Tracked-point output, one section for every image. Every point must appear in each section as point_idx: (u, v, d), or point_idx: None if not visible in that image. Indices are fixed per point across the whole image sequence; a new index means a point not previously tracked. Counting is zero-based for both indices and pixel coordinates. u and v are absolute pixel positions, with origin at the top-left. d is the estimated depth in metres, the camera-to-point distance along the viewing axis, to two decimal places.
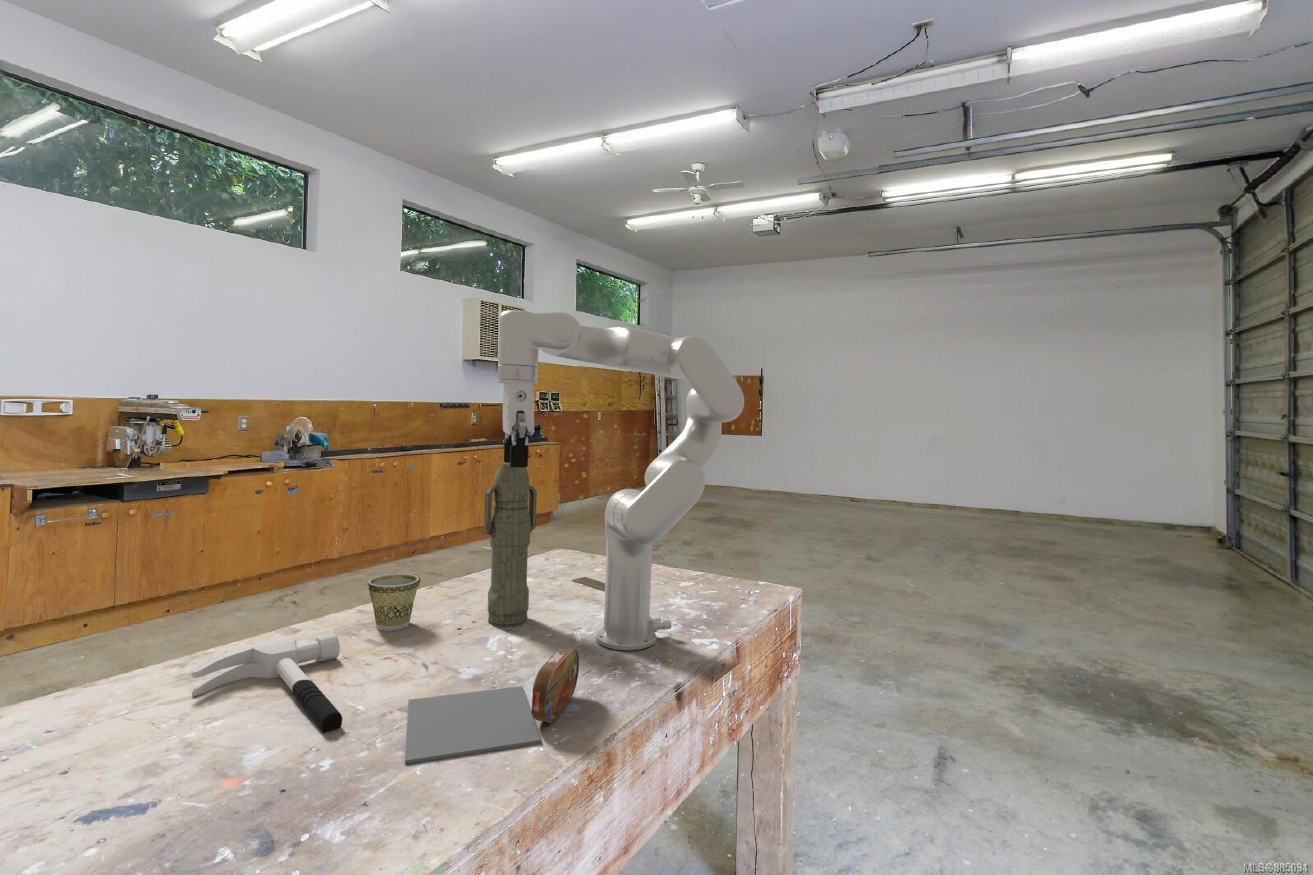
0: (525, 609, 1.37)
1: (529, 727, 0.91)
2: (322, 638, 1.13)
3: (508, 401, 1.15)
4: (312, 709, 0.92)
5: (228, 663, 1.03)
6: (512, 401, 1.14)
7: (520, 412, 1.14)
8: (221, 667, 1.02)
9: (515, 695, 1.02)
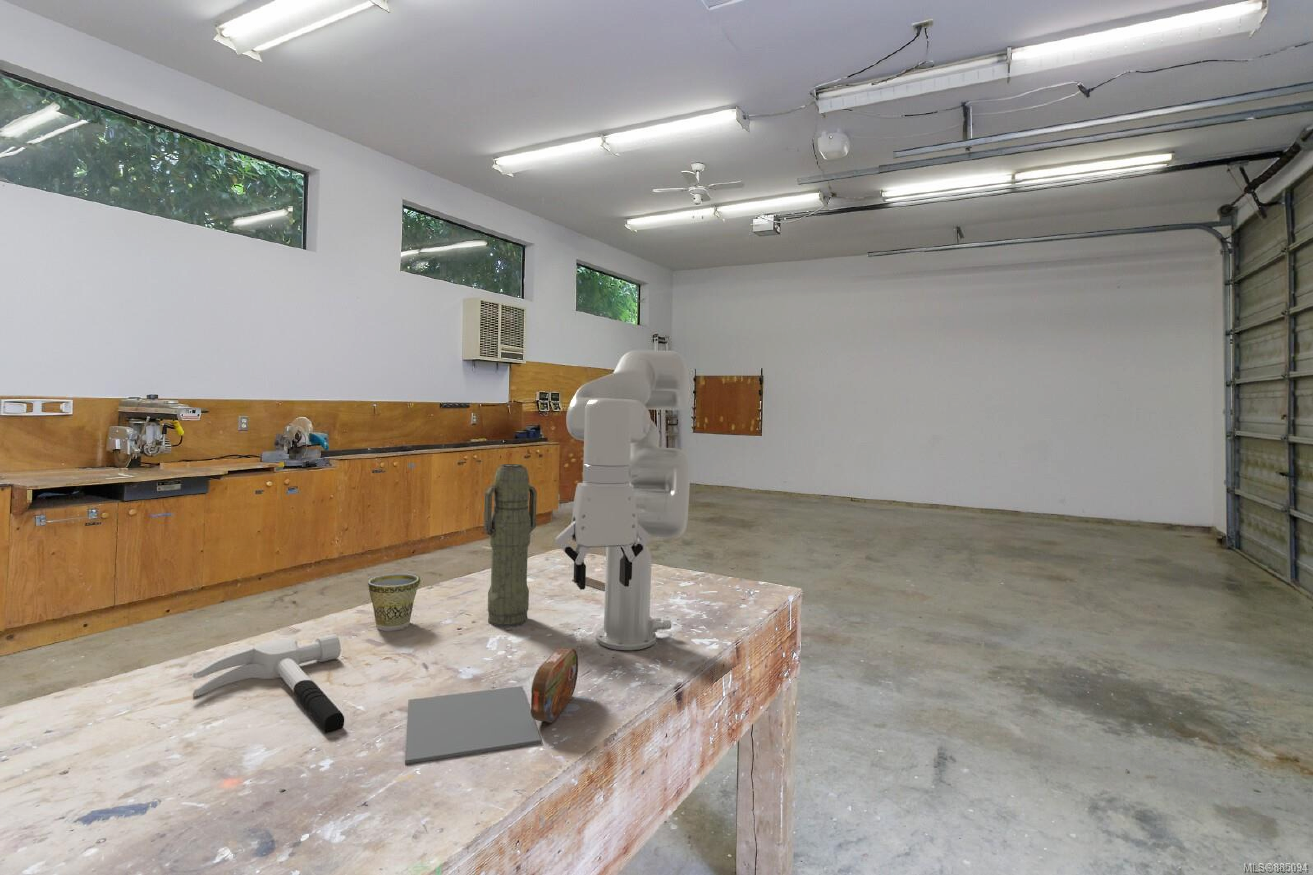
0: (525, 609, 1.37)
1: (529, 727, 0.91)
2: (323, 638, 1.13)
3: (633, 508, 0.99)
4: (313, 709, 0.92)
5: (229, 663, 1.03)
6: (636, 507, 1.00)
7: None
8: (222, 668, 1.02)
9: (515, 695, 1.02)
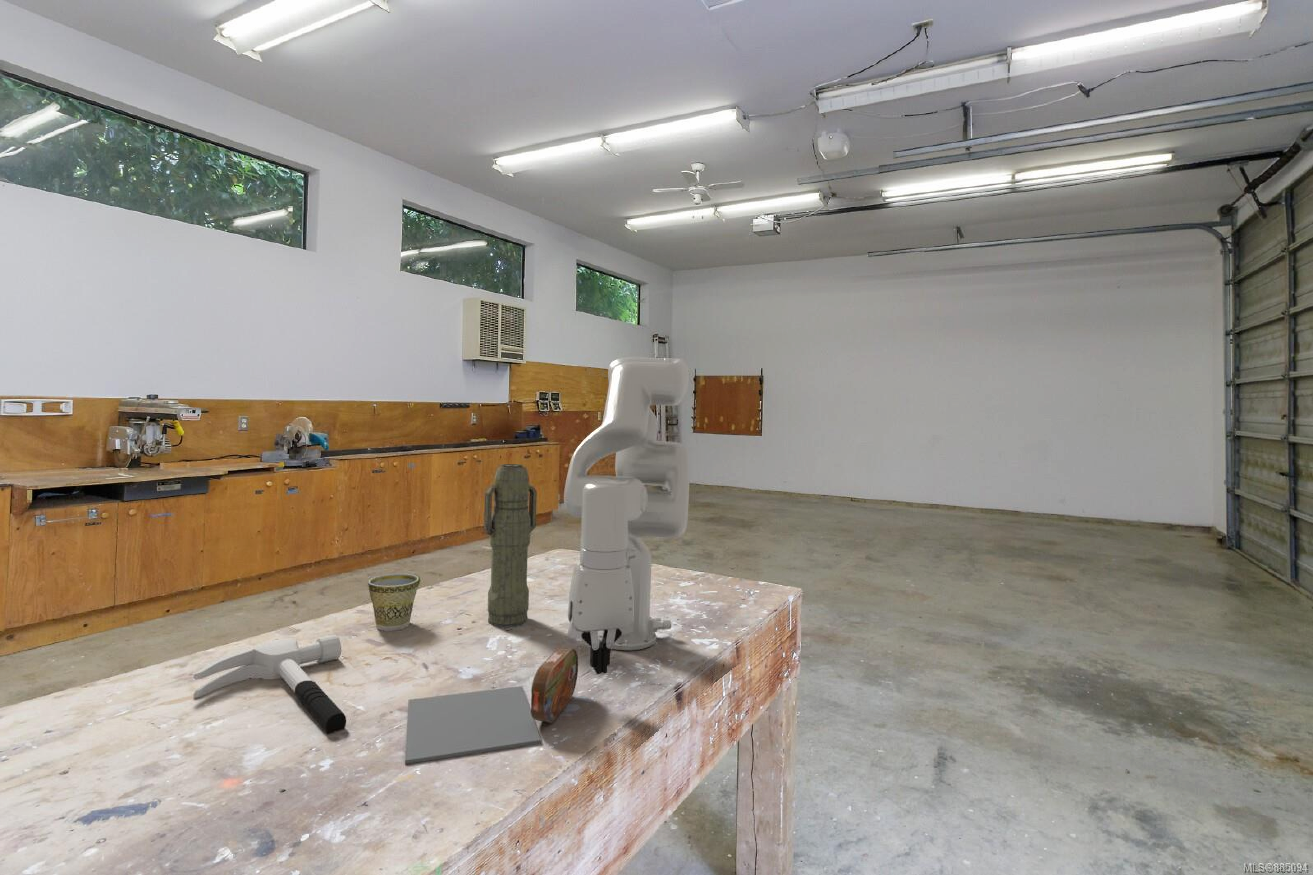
0: (525, 609, 1.37)
1: (529, 727, 0.91)
2: (323, 639, 1.13)
3: (630, 591, 0.99)
4: (315, 710, 0.92)
5: (230, 664, 1.03)
6: (633, 589, 1.00)
7: None
8: (222, 668, 1.02)
9: (515, 695, 1.02)
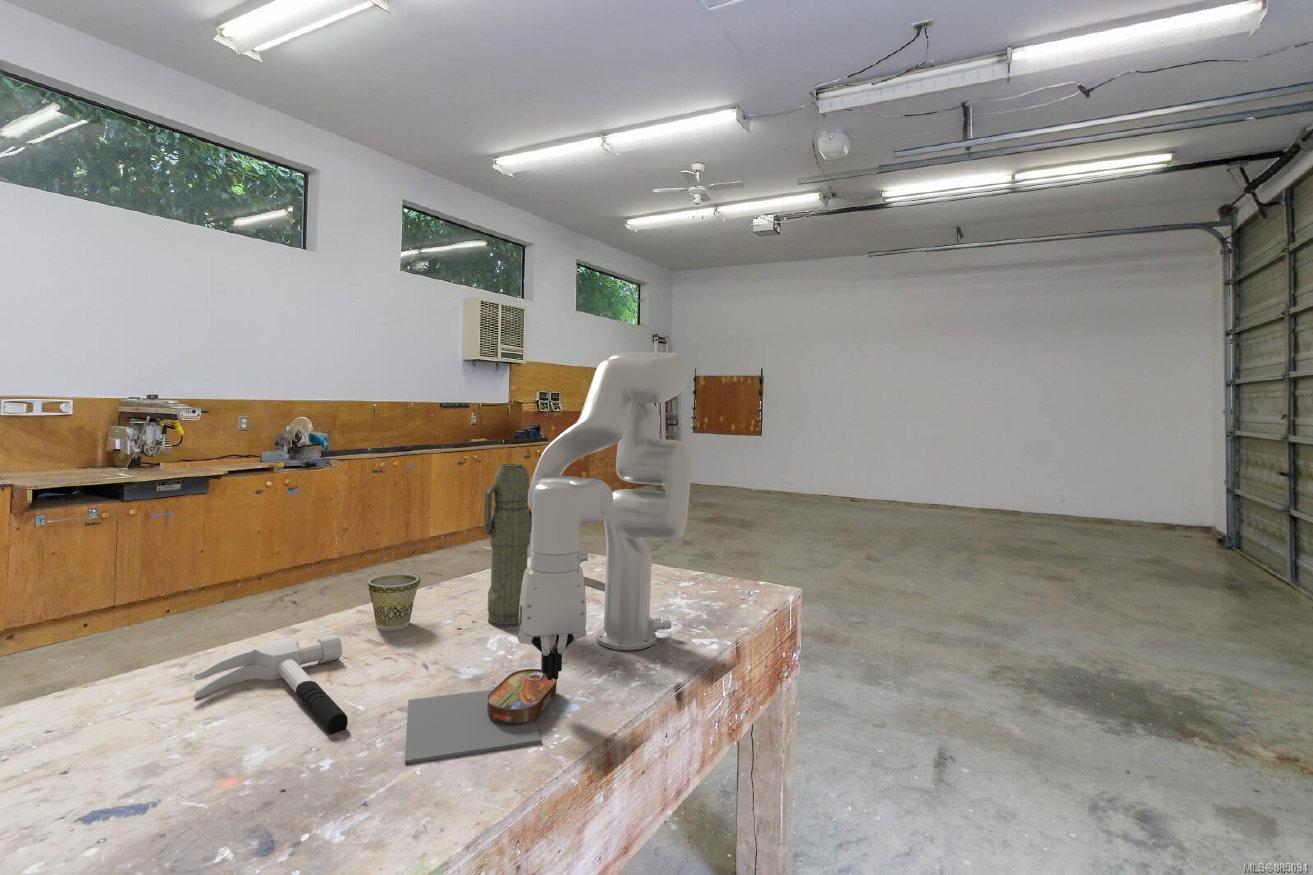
0: None
1: (529, 727, 0.91)
2: (324, 639, 1.13)
3: (581, 594, 0.96)
4: (316, 710, 0.92)
5: (231, 665, 1.03)
6: None
7: None
8: (223, 669, 1.02)
9: None
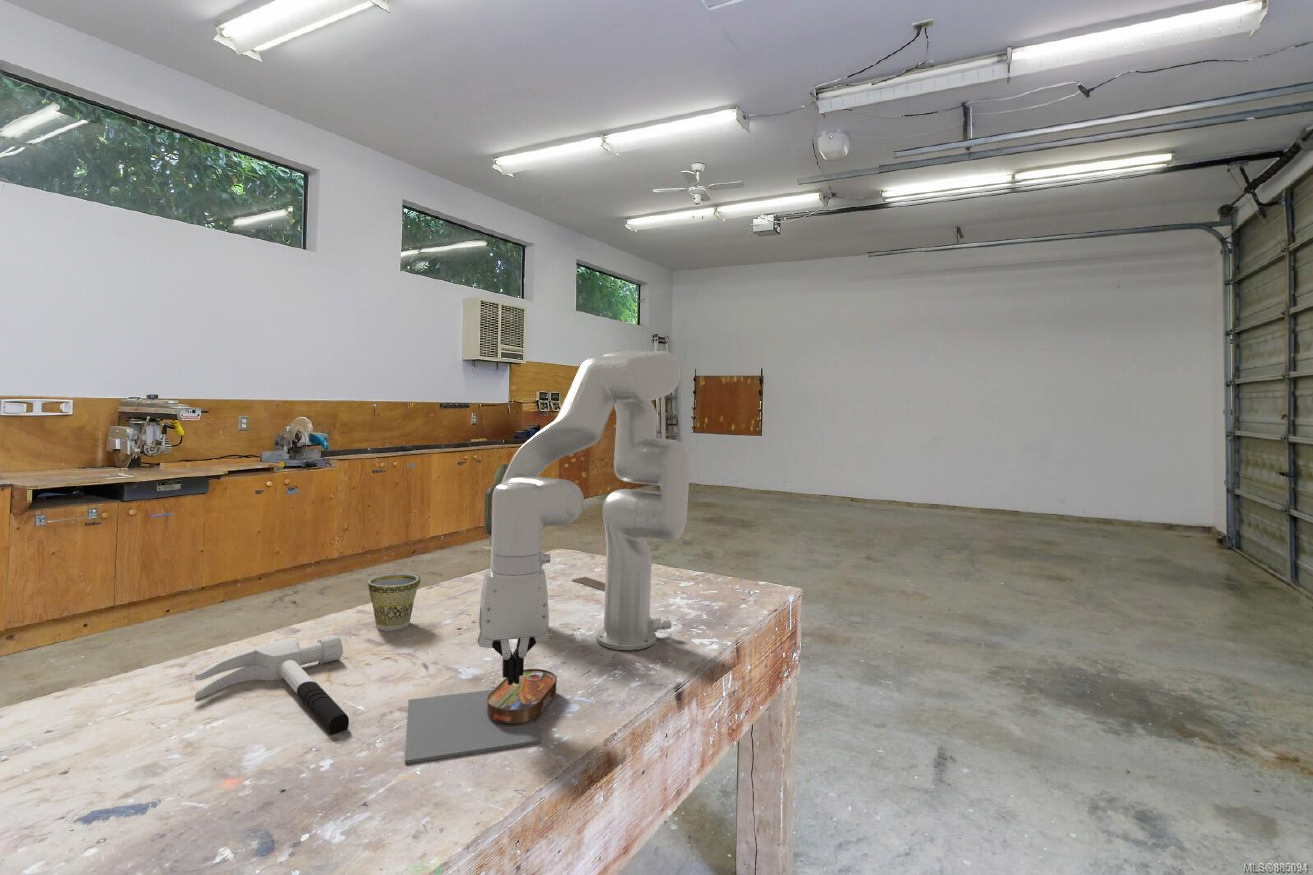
0: None
1: (529, 727, 0.91)
2: (325, 640, 1.12)
3: (543, 597, 0.94)
4: (318, 711, 0.91)
5: (231, 665, 1.03)
6: (547, 595, 0.95)
7: None
8: (224, 669, 1.02)
9: None
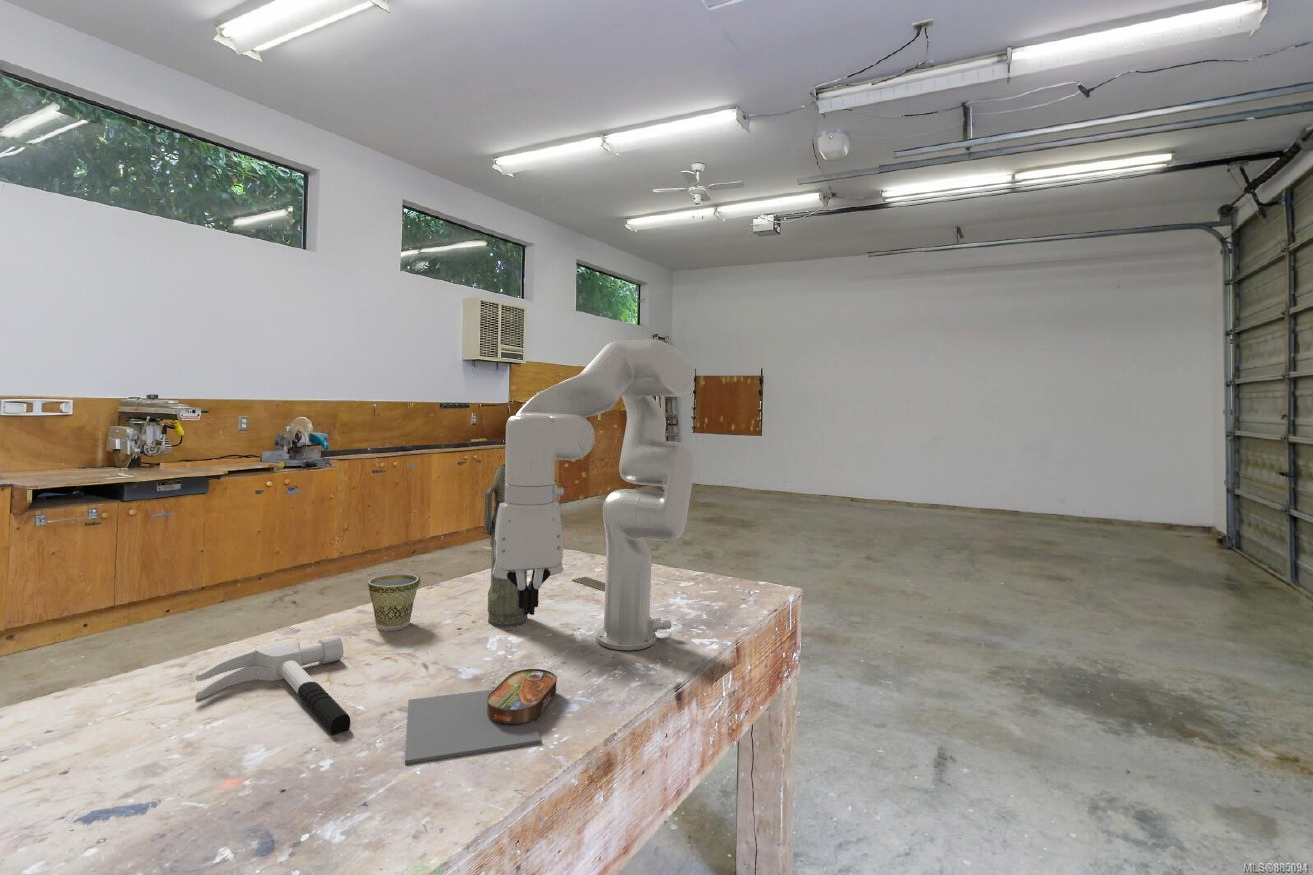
0: None
1: (529, 727, 0.91)
2: (325, 640, 1.12)
3: (557, 529, 0.95)
4: (319, 711, 0.91)
5: (232, 666, 1.02)
6: (561, 527, 0.95)
7: None
8: (224, 670, 1.01)
9: None
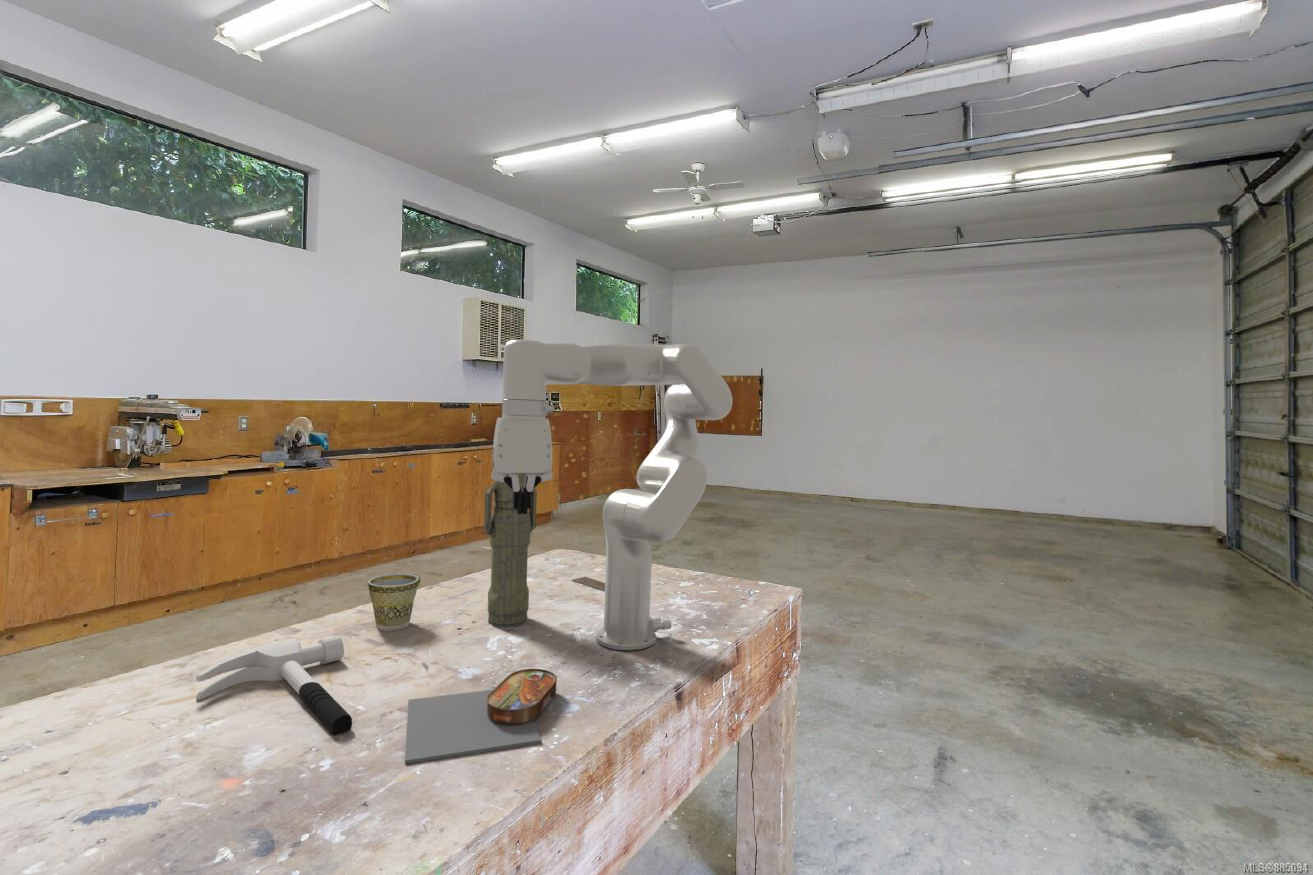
0: (525, 609, 1.37)
1: (529, 727, 0.91)
2: (326, 640, 1.12)
3: (547, 439, 1.09)
4: (320, 712, 0.91)
5: (232, 666, 1.02)
6: None
7: None
8: (225, 670, 1.01)
9: None
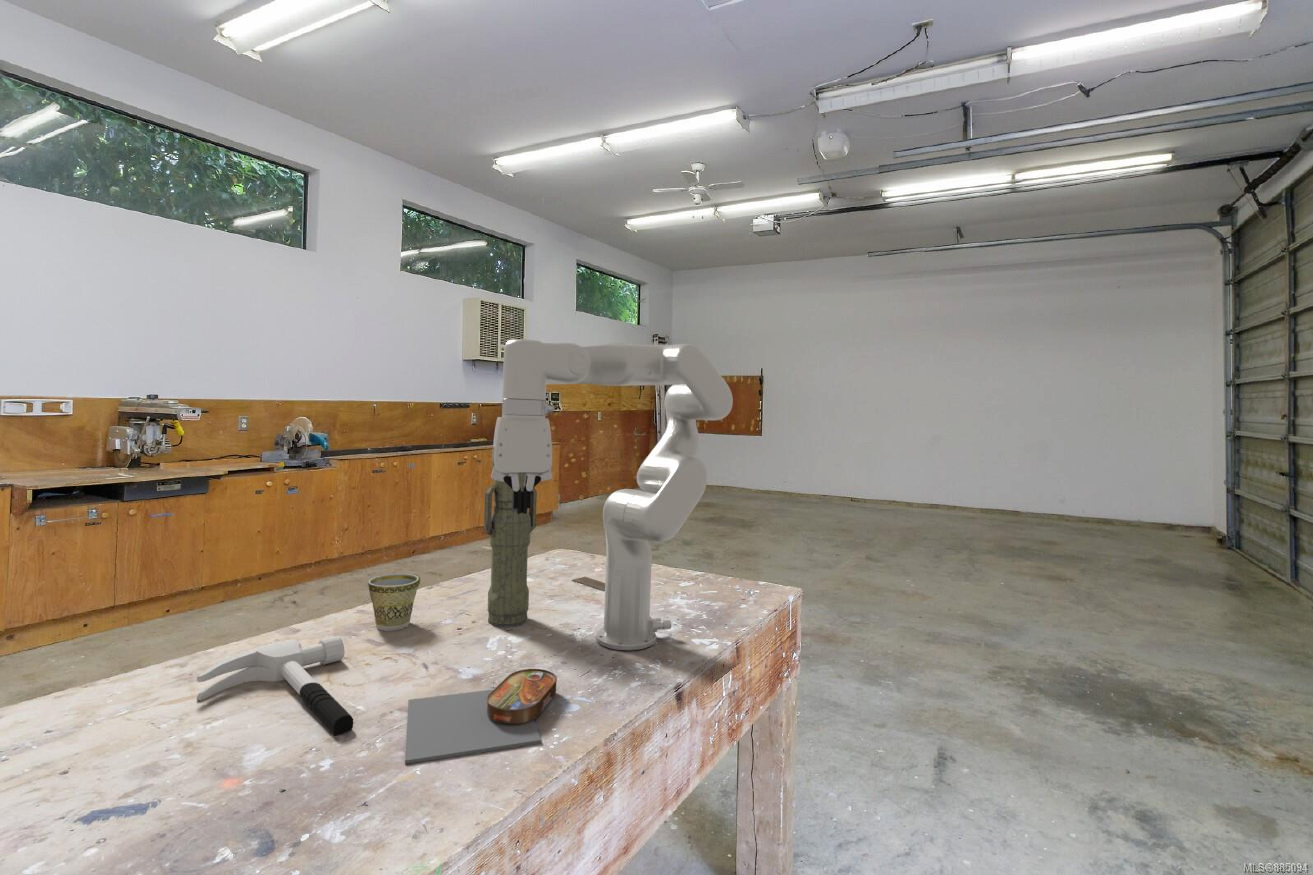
0: (525, 609, 1.37)
1: (529, 727, 0.91)
2: (326, 640, 1.12)
3: (547, 439, 1.09)
4: (321, 712, 0.91)
5: (233, 667, 1.02)
6: None
7: (547, 455, 1.12)
8: (225, 671, 1.01)
9: None
